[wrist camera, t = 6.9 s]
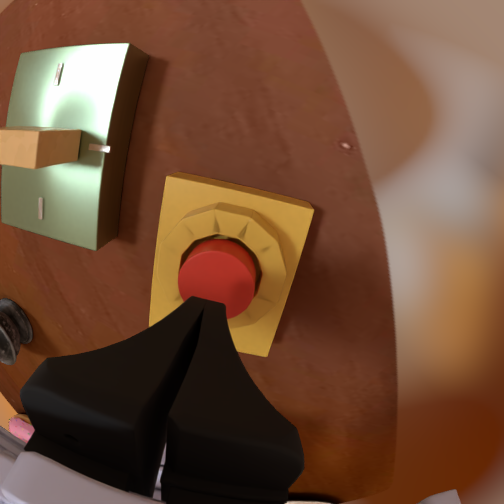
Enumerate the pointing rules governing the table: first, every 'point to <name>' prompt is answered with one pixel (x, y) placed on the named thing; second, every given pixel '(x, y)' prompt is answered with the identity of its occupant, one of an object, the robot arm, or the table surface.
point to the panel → (91, 142)
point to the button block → (236, 230)
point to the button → (219, 275)
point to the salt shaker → (12, 330)
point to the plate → (307, 502)
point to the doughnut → (21, 427)
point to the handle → (38, 146)
